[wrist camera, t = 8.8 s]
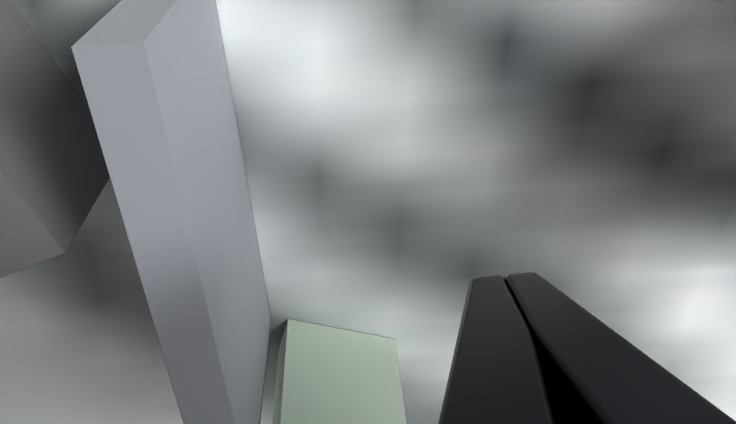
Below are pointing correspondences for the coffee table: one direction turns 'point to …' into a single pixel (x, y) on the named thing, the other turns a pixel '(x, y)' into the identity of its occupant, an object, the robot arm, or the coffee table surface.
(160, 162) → the gray rectangular panel
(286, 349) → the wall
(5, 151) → the grey rectangular block
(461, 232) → the coffee table surface
